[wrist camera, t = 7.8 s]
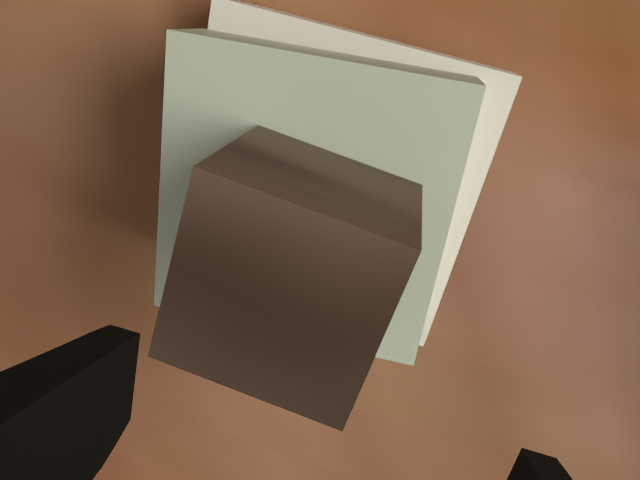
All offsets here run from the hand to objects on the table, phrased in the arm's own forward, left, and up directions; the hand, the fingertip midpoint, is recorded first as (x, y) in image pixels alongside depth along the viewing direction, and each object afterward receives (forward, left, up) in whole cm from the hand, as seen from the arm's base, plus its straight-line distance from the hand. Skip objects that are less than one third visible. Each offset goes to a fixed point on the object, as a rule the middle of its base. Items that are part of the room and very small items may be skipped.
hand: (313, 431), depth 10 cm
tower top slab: (+2, +2, -9) cm, 9 cm away
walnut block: (+1, +2, -6) cm, 6 cm away
